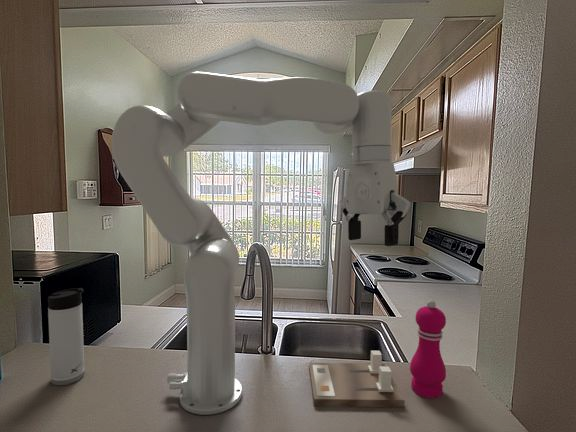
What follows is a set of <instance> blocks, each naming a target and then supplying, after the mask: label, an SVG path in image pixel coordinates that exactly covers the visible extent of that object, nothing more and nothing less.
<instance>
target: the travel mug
mask: <svg viewBox="0 0 576 432" xmlns="http://www.w3.org/2000/svg"><path fill="white" fill-rule="evenodd" d="M83 293H84V288H83V287H79V288H78V287H76V288H75V287H74V288H67V289H62V290H58V291H56V292H54V293H51V294H50V295H49V296H48V297H47V303H48V304H47V305H48V306H47V310H48V311H47V318H48V337H49V338H48V342H49V363H50V364H49V367H50V383H51V384H52V385H55V386H67V385H71V384H73V383H76V382H78V381H79V380H81V379H82V378H83V377H84V376H85V352H84V349H85V347H84V322H83V321H84V320H83V302H82V301H83V300H82V294H83Z"/></svg>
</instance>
